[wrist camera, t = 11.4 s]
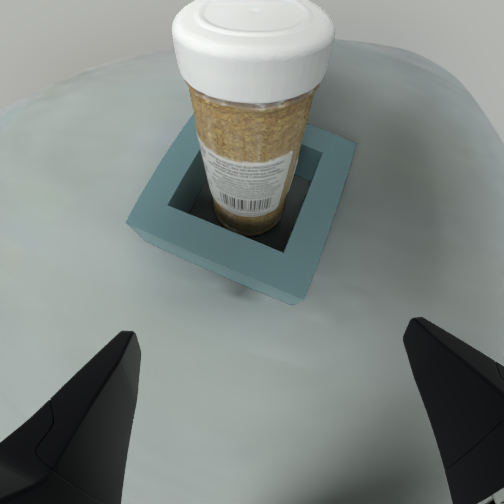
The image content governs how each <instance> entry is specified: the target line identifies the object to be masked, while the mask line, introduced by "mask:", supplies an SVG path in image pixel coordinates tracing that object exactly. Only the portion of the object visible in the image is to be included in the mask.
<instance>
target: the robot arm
mask: <svg viewBox="0 0 504 504" xmlns="http://www.w3.org/2000/svg"><path fill="white" fill-rule="evenodd" d="M403 342H404V346H405V349H406V352H407V355H408V359H409V362H410V366H411V369H412V372H413V376H414V379H415V381H416V384H417V387H418V389H419V392H420V395H421V397H422V400H423V403H424V406H425V408H426V411H427V414H428V417H429V420H430V423H431V426H432V429H433V432H434V435H435V438H436V441H437V444H438V448H439V451H440V454H441V458H442V461H443V465H444V469H445V473H446V477H447V481H448V485H449V489H450V493H451V497H452V502H453V504H477V503H479V502H481V501H482V500H484V499H486V498H488V497H489V496H491V495H492V497H493V498H492V499H491V500H490V501H488V502H487V503H486V504H504V366H502V365H501V364H499V363H497V362H495V361H494V360H493V359H491V358H489V357H488V356H486V355H484V354H483V353H481V352H480V351H478V350H476V349H475V348H473V347H471V346H470V345H468V344H466V343H465V342H463V341H462V340H460V339H458V338H457V337H455V336H453V335H452V334H450V333H448V332H447V331H445V330H443V329H442V328H440V327H438V326H436V325H435V324H433V323H431V322H430V321H428V320H426V319H425V318H423V317H416V318H412V319H411V320H410V322H409V324H408V326H407V329H406V331H405V333H404V336H403ZM140 362H141V350H140V346H139V343H138V340H137V336H136V334H135V332H133V331H121V332H120V333H119V334H117V335H116V336H115V337H114V338H113V339H112V340H111V341H110V342H109V343H108V344H107V345H106V346H105V347H104V348H102V349H101V350H100V351H99V352H98V353H97V354H96V355H95V356H94V357H93V358H92V359H91V360H90V361H89V362H88V363H87V364H86V365H85V366H83V367H82V368H81V369H80V370H79V371H78V372H77V373H76V374H75V375H74V376H73V377H72V378H71V379H70V380H69V381H68V382H67V383H66V384H65V385H64V386H63V387H62V388H61V389H60V390H59V391H58V392H57V393H56V394H55V395H54V396H53V397H52V398H51V400H48V401H47V402H46V403H45V404H44V405H43V406H42V407H41V408H40V409H39V410H38V411H37V412H36V413H35V414H34V415H33V416H32V417H31V418H30V419H28V420H27V421H26V422H25V423H24V424H23V425H21V426H20V427H19V428H18V429H17V430H15V431H14V432H13V433H12V434H10V435H9V436H8V437H7V438H5V439H4V440H3V441H2V442H0V504H121V498H122V489H123V481H124V474H125V466H126V460H127V453H128V447H129V441H130V435H131V429H132V424H133V418H134V413H135V408H136V402H137V395H138V383H139V372H140Z"/></svg>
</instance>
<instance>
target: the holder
mask: <svg viewBox="0 0 504 504" xmlns="http://www.w3.org/2000/svg"><path fill="white" fill-rule="evenodd" d="M355 147H356V143H354V142H352V141H349V140H347V139H345V138H342V137H340V136H338V135H335V134H333V133H331V132H328V131H326V130H323V129H321V128H318V127H316V126H313V125H310V124H308V123H306V128H305V131H304V134H303V139H302V143H301V146H300V150H299V155H298V162H297V166H296V169H295V173H294V174H295V175H298V176H300V177H303V178H305V179H307V180H310V181H311V182H310V185H309V187H308V190H307V193H306V195H305V198H304V200H303V203H302V205H301V208H300V210H299V213H298V215H297V218H296V221H295V223H294V226H293V228H292V231H291V233H290V236H289V238H288V240H287V243H286V245H285V248H284V250H283V252H281V251H278V250H276V249H273V248H271V247H268V246H266V245H264V244H261V243H259V242H256V241H254V240H252V239H249V238H247V237H244V236H242V235H239V234H237V233H234V232H232V231H230V230H227V229H225V228H222V227H220V226H217V225H215V224H212V223H210V222H208V221H205V220H203V219H200V218H198V217H195V216H193V215H190V214H188V213H189V211H190V209H191V207H192V205H193V203H194V201H195V199H196V198H197V196H198V194H199V192H200V190H201V188H202V187H203V185H204V183H205V181H206V179H207V175H206V170H205V166H204V162H203V158H202V154H201V149H200V145H199V141H198V136H197V132H196V120H195V116H194V114H193V115H192V116H191V118H190V119H189V121H188V122H187V123H186V125H185V126H184V128H183V129H182V131H181V132H180V134H179V135H178V137H177V138H176V139H175V141H174V142H173V144H172V145H171V147H170V149H169V150H168V152H167V153H166V155H165V156H164V158H163V159H162V161H161V162H160V164H159V166H158V167H157V169H156V170H155V172H154V174H153V175H152V177H151V179H150V180H149V182H148V184H147V185H146V187H145V189H144V190H143V192H142V194H141V196H140V197H139V199H138V201H137V203H136V204H135V206H134V208H133V210H132V212H131V213H130V215H129V217H128V219H127V221H126V223H127V224H128V225H129V226H130V227H131V228H132V229H133V230H134V231H135V232H136V233H137V234H138V235H139V236H140V237H141V238H142V239H143V240H144V241H146V242H148V243H150V244H152V245H154V246H156V247H158V248H161V249H163V250H165V251H167V252H169V253H172V254H174V255H176V256H178V257H180V258H183V259H185V260H187V261H189V262H192V263H194V264H196V265H198V266H201V267H203V268H205V269H207V270H210V271H212V272H214V273H217V274H219V275H221V276H224V277H226V278H228V279H230V280H233V281H235V282H237V283H240V284H242V285H245V286H247V287H249V288H252V289H254V290H256V291H259V292H261V293H263V294H266V295H268V296H271V297H273V298H276V299H278V300H280V301H283V302H285V303H288V304H290V305H294V304H296V303H298V302H300V301H302V300H304V299H305V296H306V293H307V291H308V288H309V286H310V283H311V280H312V278H313V275H314V272H315V270H316V267H317V264H318V261H319V259H320V256H321V253H322V250H323V247H324V245H325V242H326V239H327V236H328V233H329V230H330V227H331V224H332V221H333V218H334V215H335V212H336V209H337V206H338V203H339V200H340V197H341V194H342V191H343V188H344V184H345V181H346V178H347V175H348V171H349V168H350V165H351V161H352V158H353V154H354V151H355Z"/></svg>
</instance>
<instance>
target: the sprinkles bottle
mask: <svg viewBox="0 0 504 504" xmlns="http://www.w3.org/2000/svg"><path fill="white" fill-rule="evenodd" d="M172 34H173V41H174V47H175V53H176V58H177V62H178V67H179V70H180V73H181V75H182V77H183V78H184V79H185V82H186V83H187V84H188V86H189V90H190V96H191V101H192V106H193V110H194V116H195V120H196V132H197V136H198V141H199V145H200V149H201V154H202V158H203V162H204V166H205V170H206V175H207V179H208V183H209V187H210V191H211V193H212V195H213V199H214V201H213V203H214V211H215V213H216V216H217V218H218V220H219V221H220V223H221V224H222V225H223V226H224V227H225V228H226V229H228V230H230V231H232V232H234V233H237V234H239V235H243V236H256V235H260V234H263V233H265V232H267V231H269V230H271V229H272V228H273V227H274V226H275V225H276V224H277V223H278V222H279V221H280V219H281V217H282V214H283V212H284V202H285V198H286V195H287V193H288V192H289V189H290V186H291V183H292V180H293V176H294V173H295V169H296V166H297V162H298V155H299V150H300V146H301V143H302V139H303V134H304V131H305V128H306V123H307V121H308V115H309V111H310V107H311V103H312V99H313V94H314V92H315V91H316V90H317V88H318V87H319V85H320V82H321V81H322V79H323V78H324V76H325V74H326V71H327V67H328V64H329V60H330V56H331V52H332V47H333V43H334V38H335V27H334V24H333V21H332V19H331V18H330V16H329V15H328V14H327V13H326V12H325V11H324V10H323V9H322V8H320V7H319V6H317V5H316V4H314V3H312V2H310V1H309V0H195V1H193V2H191V3H190V4H188V5H187V6H185V7H184V8H183V9H182V10H181V11H180V12H179V13H178V14H177V16H176V17H175V19H174V21H173V24H172Z"/></svg>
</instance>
